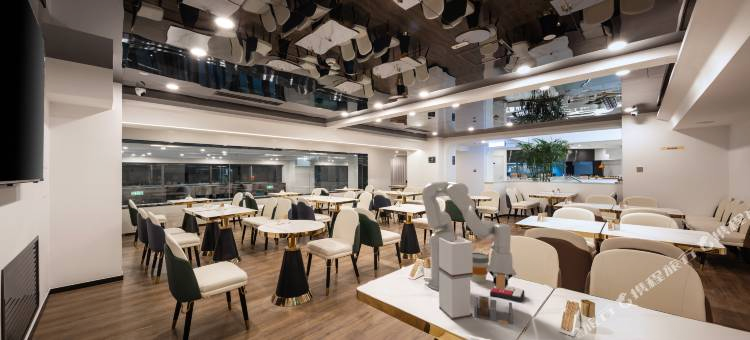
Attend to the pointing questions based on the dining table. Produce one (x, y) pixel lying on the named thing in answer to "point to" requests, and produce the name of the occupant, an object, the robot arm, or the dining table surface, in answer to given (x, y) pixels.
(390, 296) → the dining table surface
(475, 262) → the reusable coffee cup
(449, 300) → the banded white column
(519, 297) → the calculator
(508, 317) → the grey slotted rack
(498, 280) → the tan tall block
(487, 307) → the walnut plug
